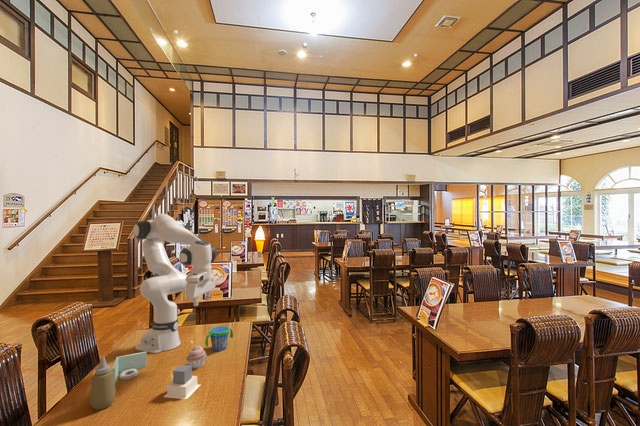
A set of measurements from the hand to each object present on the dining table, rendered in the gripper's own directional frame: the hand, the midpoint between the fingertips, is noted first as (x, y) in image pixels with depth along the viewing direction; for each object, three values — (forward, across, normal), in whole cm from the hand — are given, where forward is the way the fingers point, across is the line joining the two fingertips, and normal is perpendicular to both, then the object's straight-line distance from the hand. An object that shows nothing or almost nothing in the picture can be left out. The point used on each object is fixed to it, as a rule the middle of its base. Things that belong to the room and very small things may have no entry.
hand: (201, 302), depth 146 cm
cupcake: (+29, +4, 0) cm, 30 cm away
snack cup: (+30, -16, +1) cm, 33 cm away
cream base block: (+28, +24, +7) cm, 38 cm away
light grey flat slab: (+29, +24, +6) cm, 38 cm away
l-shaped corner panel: (+30, +16, -25) cm, 42 cm away
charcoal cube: (+24, +24, +6) cm, 35 cm away
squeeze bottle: (+29, +36, -18) cm, 50 cm away
